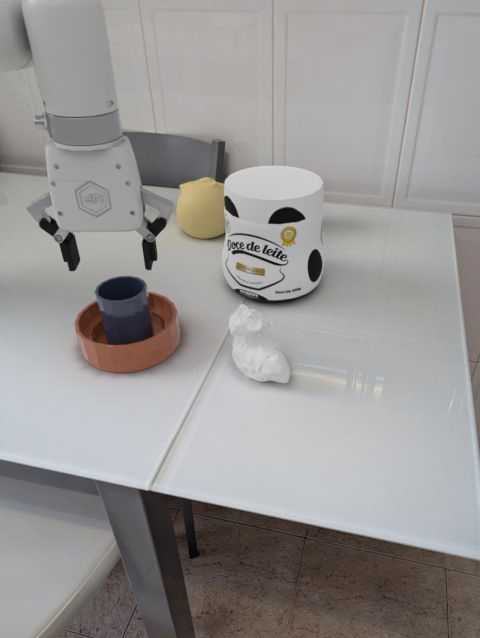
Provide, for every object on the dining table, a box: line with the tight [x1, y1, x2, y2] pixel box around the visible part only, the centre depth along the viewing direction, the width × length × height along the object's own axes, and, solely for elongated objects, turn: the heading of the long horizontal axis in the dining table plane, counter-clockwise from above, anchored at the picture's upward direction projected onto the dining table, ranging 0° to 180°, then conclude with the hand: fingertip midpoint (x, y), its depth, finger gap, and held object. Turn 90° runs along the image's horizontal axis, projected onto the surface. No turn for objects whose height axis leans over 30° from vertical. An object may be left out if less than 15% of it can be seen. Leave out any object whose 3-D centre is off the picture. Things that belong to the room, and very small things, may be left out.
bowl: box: [74, 291, 181, 374], centre depth 71 cm, size 14×14×5 cm
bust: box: [228, 303, 291, 385], centre depth 65 cm, size 12×8×11 cm
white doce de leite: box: [221, 164, 326, 303], centre depth 81 cm, size 17×17×18 cm
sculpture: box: [175, 176, 226, 240], centre depth 100 cm, size 12×12×11 cm
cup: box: [94, 275, 155, 345], centre depth 70 cm, size 7×7×9 cm
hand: (112, 265), depth 65 cm, fingers open, 9 cm apart
